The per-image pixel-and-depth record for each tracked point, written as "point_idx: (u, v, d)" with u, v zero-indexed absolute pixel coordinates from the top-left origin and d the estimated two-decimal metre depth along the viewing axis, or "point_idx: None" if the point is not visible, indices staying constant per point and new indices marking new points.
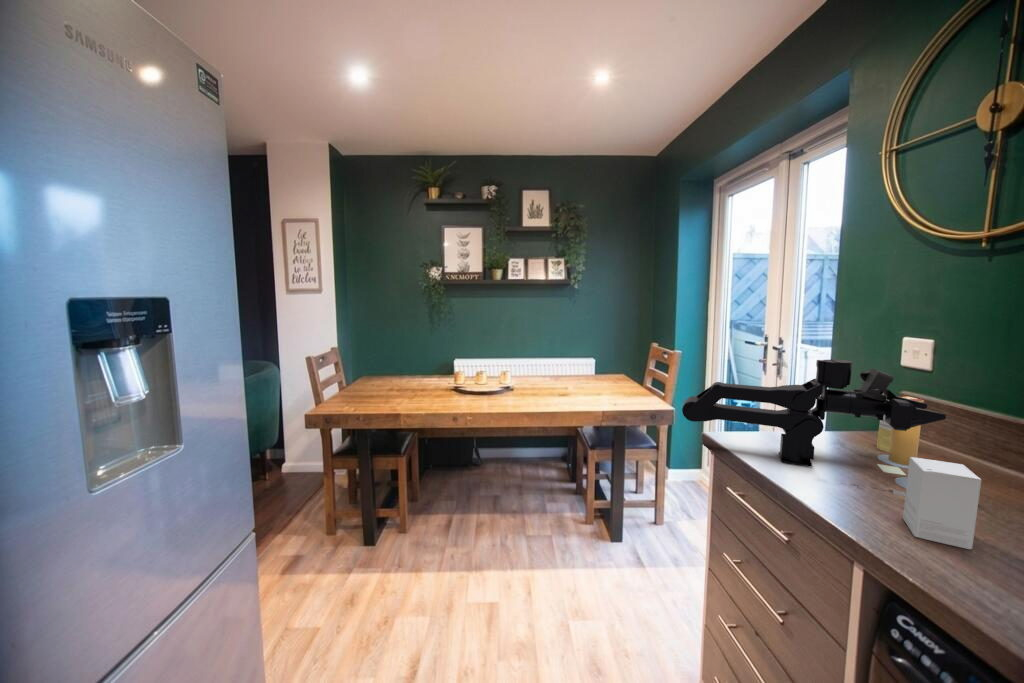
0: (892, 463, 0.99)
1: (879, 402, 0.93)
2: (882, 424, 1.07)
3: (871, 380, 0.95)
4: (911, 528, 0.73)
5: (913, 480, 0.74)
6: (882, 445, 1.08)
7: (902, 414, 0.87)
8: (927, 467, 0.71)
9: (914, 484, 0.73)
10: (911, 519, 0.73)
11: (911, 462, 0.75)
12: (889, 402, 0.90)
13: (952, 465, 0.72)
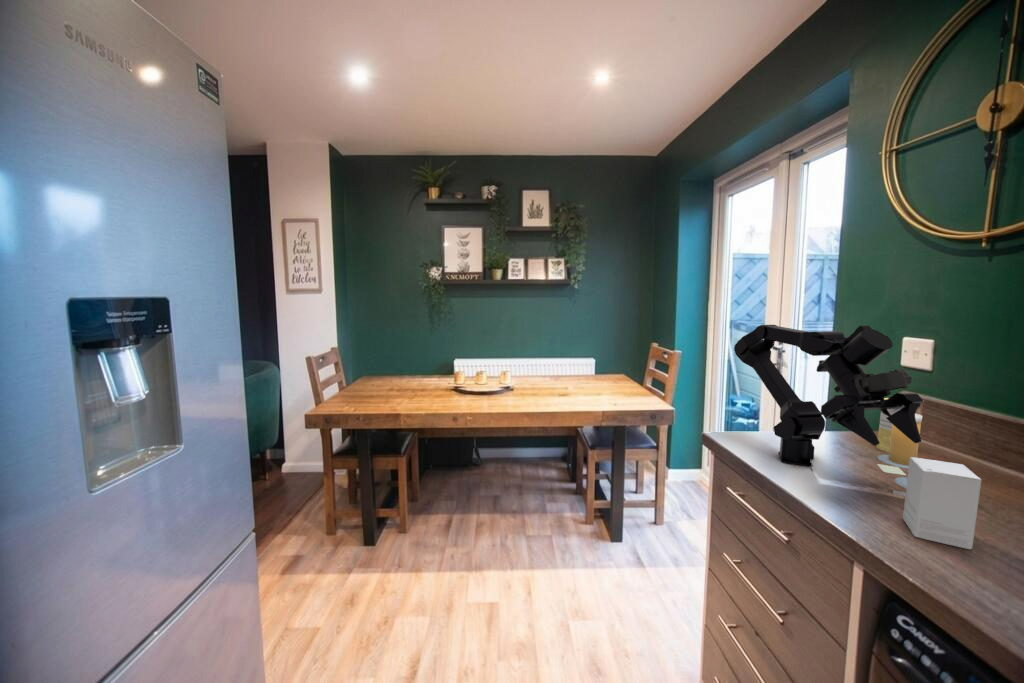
0: (892, 463, 0.99)
1: (858, 394, 0.84)
2: (882, 424, 1.07)
3: None
4: (911, 528, 0.73)
5: (913, 480, 0.74)
6: (882, 445, 1.08)
7: (832, 406, 0.83)
8: (927, 467, 0.71)
9: (914, 484, 0.73)
10: (911, 519, 0.73)
11: (911, 462, 0.75)
12: (847, 395, 0.83)
13: (952, 465, 0.72)
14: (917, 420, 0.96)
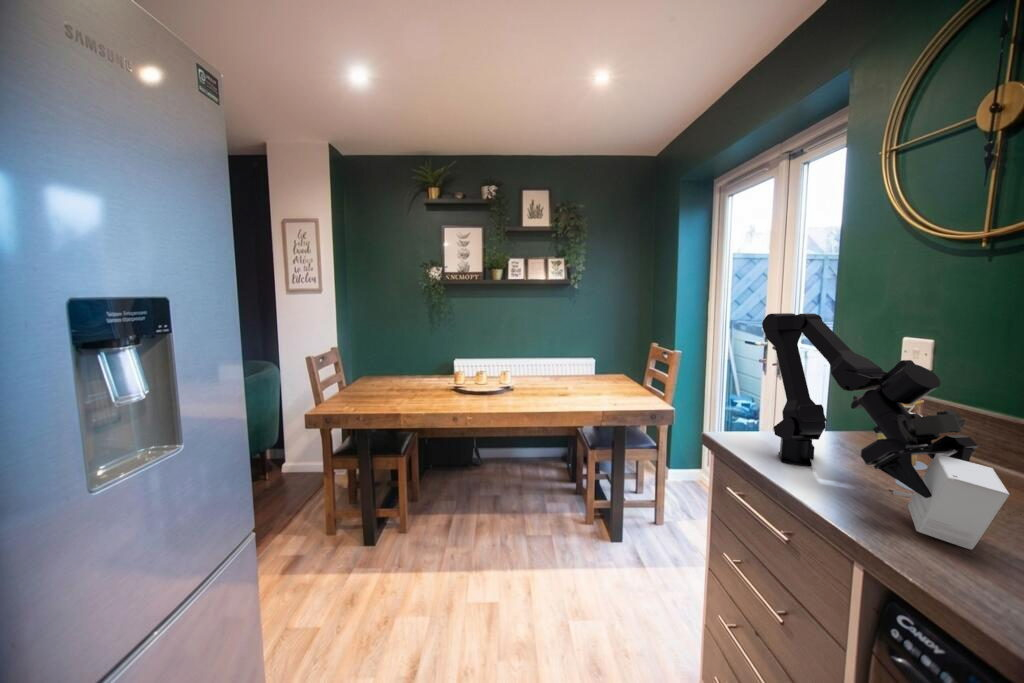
0: None
1: (903, 437, 0.76)
2: None
3: (923, 417, 0.73)
4: (915, 521, 0.72)
5: (932, 479, 0.70)
6: None
7: (875, 451, 0.74)
8: (953, 473, 0.67)
9: (933, 484, 0.70)
10: (918, 513, 0.72)
11: (936, 460, 0.71)
12: (891, 439, 0.74)
13: (980, 470, 0.68)
14: None
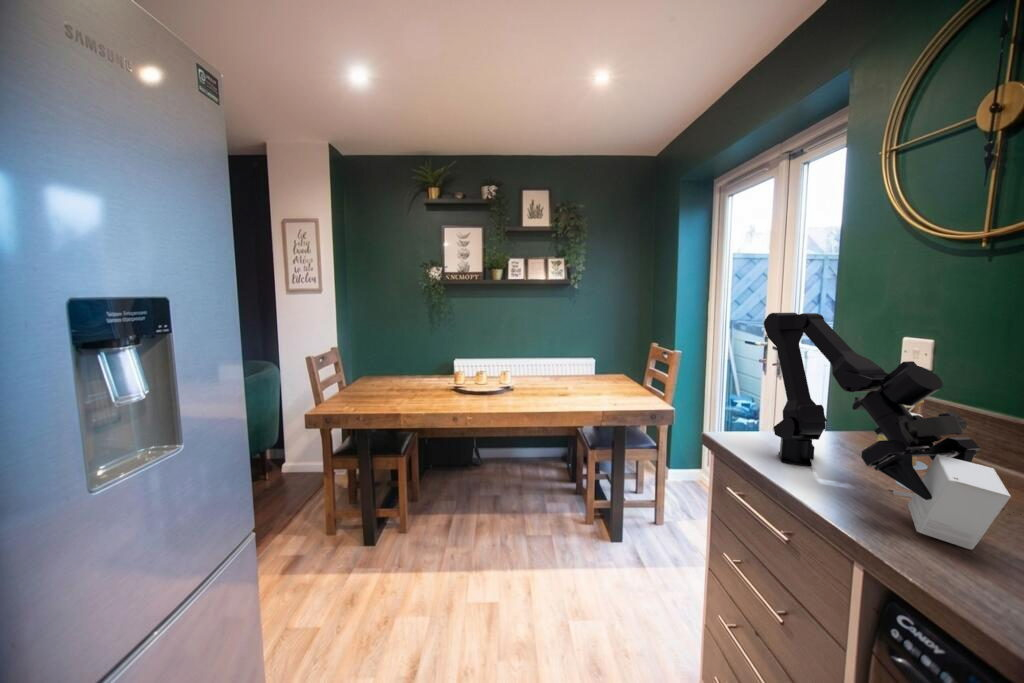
0: None
1: (904, 439, 0.75)
2: None
3: None
4: (915, 522, 0.72)
5: (933, 480, 0.70)
6: None
7: (875, 452, 0.74)
8: (954, 474, 0.67)
9: (933, 486, 0.69)
10: (918, 513, 0.72)
11: (936, 461, 0.70)
12: (892, 440, 0.74)
13: (981, 470, 0.67)
14: None
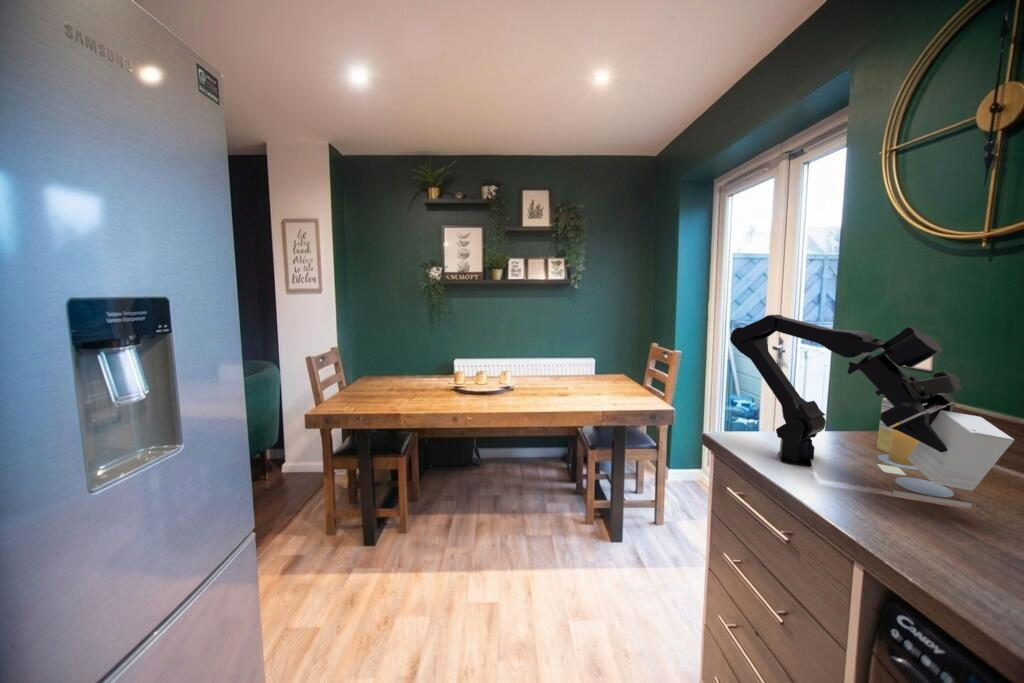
0: (892, 463, 0.99)
1: (910, 398, 0.82)
2: (882, 424, 1.07)
3: (931, 378, 0.80)
4: (927, 474, 0.79)
5: (945, 434, 0.77)
6: (882, 445, 1.08)
7: (900, 414, 0.78)
8: (969, 427, 0.74)
9: (947, 439, 0.76)
10: (930, 466, 0.79)
11: (943, 416, 0.78)
12: (910, 401, 0.79)
13: (978, 420, 0.76)
14: None
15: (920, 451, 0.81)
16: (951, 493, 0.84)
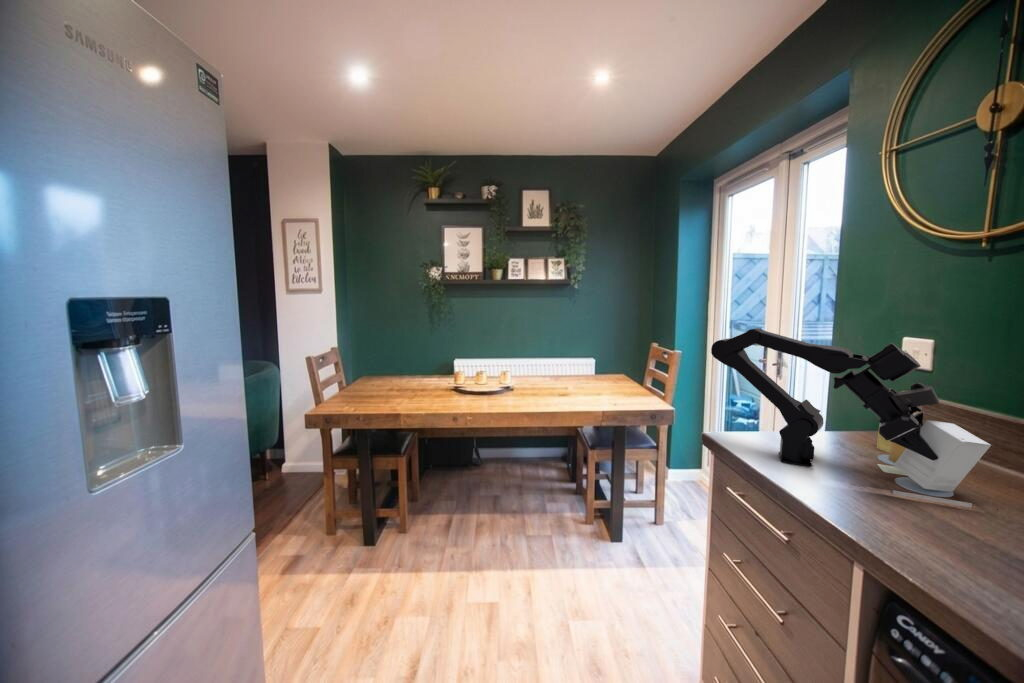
0: (892, 463, 0.99)
1: (897, 410, 0.87)
2: None
3: (915, 391, 0.86)
4: (918, 480, 0.85)
5: (934, 443, 0.83)
6: (882, 445, 1.08)
7: (900, 427, 0.82)
8: (957, 436, 0.80)
9: (937, 447, 0.82)
10: (920, 473, 0.85)
11: (930, 426, 0.84)
12: (903, 414, 0.84)
13: (956, 427, 0.84)
14: None
15: (907, 458, 0.87)
16: (951, 493, 0.84)
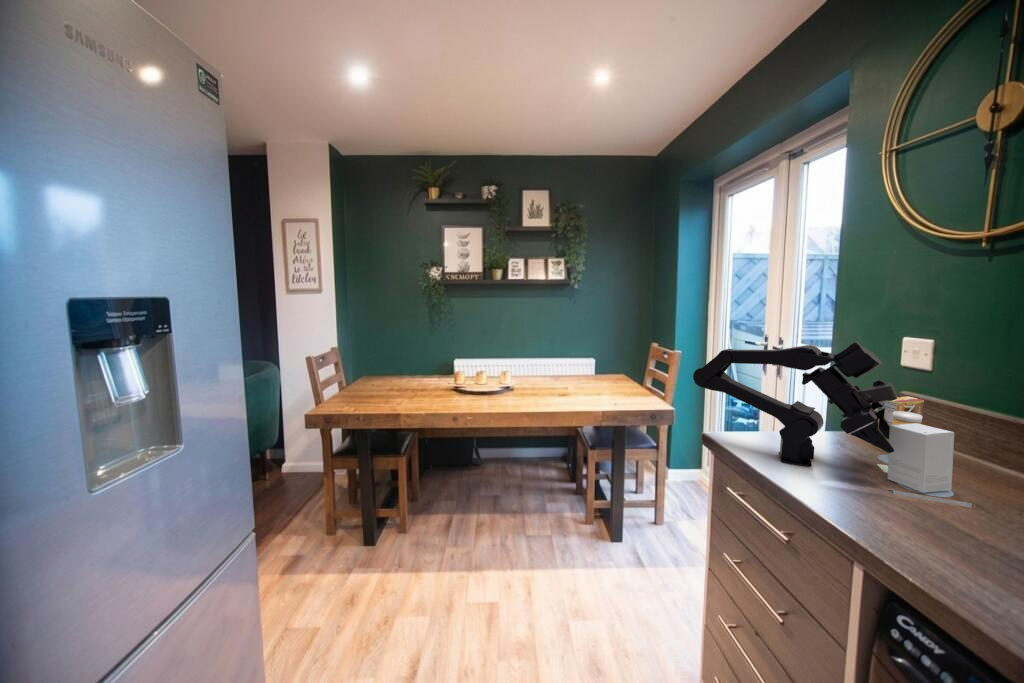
0: None
1: (859, 406, 0.92)
2: None
3: (876, 388, 0.91)
4: (913, 486, 0.85)
5: (906, 444, 0.87)
6: None
7: (859, 422, 0.87)
8: (920, 431, 0.85)
9: (910, 448, 0.86)
10: (911, 478, 0.86)
11: (895, 429, 0.89)
12: (863, 409, 0.89)
13: (919, 425, 0.89)
14: (917, 420, 0.96)
15: (894, 467, 0.89)
16: (951, 493, 0.84)
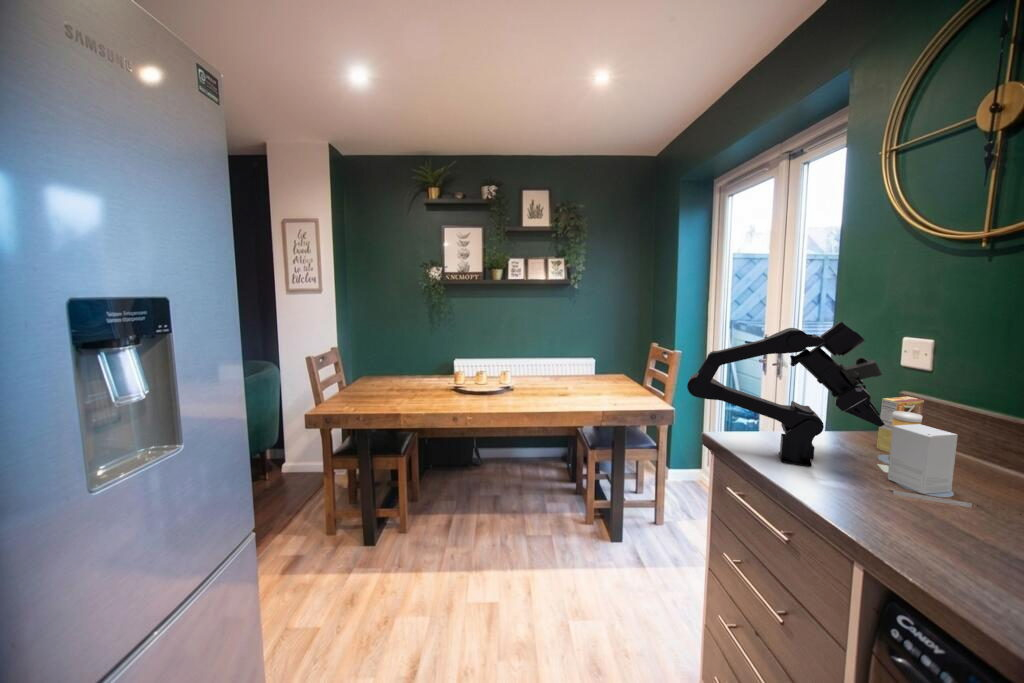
0: None
1: (847, 383, 0.95)
2: None
3: (862, 365, 0.94)
4: (913, 487, 0.85)
5: (908, 445, 0.86)
6: (882, 445, 1.08)
7: (854, 398, 0.89)
8: (923, 433, 0.84)
9: (913, 449, 0.85)
10: (911, 478, 0.86)
11: (898, 430, 0.88)
12: (855, 386, 0.91)
13: (922, 426, 0.88)
14: (917, 420, 0.96)
15: (895, 468, 0.89)
16: (951, 493, 0.84)
